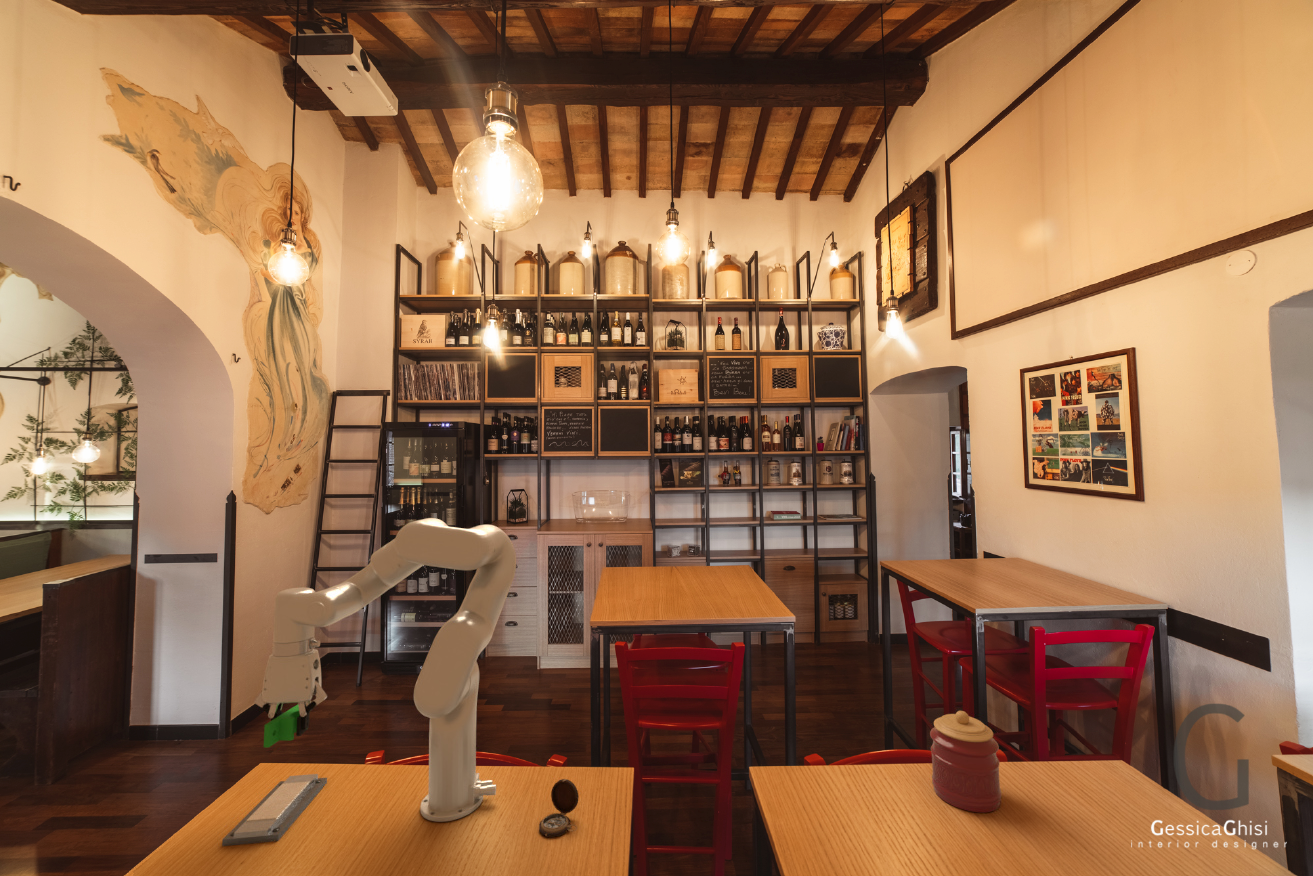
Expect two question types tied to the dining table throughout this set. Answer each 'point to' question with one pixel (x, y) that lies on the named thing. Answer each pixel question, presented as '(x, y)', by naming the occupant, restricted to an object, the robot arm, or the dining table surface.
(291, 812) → the grey framed panel
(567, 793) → the compass
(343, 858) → the dining table surface
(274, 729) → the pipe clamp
